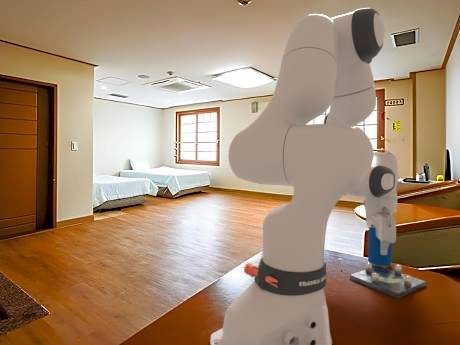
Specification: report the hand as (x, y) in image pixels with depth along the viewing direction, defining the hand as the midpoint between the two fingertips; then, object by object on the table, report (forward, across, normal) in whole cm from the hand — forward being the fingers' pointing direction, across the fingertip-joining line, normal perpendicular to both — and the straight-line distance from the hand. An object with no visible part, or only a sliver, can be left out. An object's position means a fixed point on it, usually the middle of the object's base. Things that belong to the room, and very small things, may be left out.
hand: (379, 249), depth 92 cm
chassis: (+5, -14, +1) cm, 15 cm away
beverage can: (+5, 0, 0) cm, 5 cm away
